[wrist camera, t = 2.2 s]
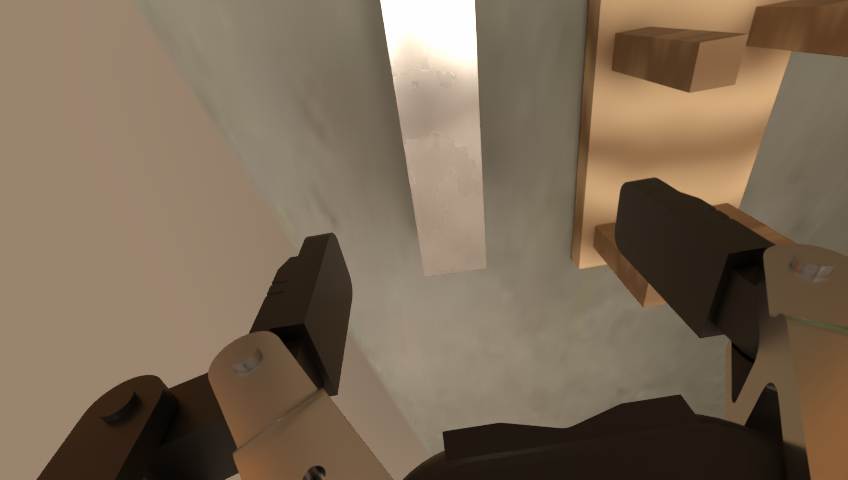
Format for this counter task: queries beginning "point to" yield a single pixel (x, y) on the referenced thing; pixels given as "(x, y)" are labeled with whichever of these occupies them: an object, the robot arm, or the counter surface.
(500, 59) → the counter surface
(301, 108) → the counter surface
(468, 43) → the pale beige plank
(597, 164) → the rack
